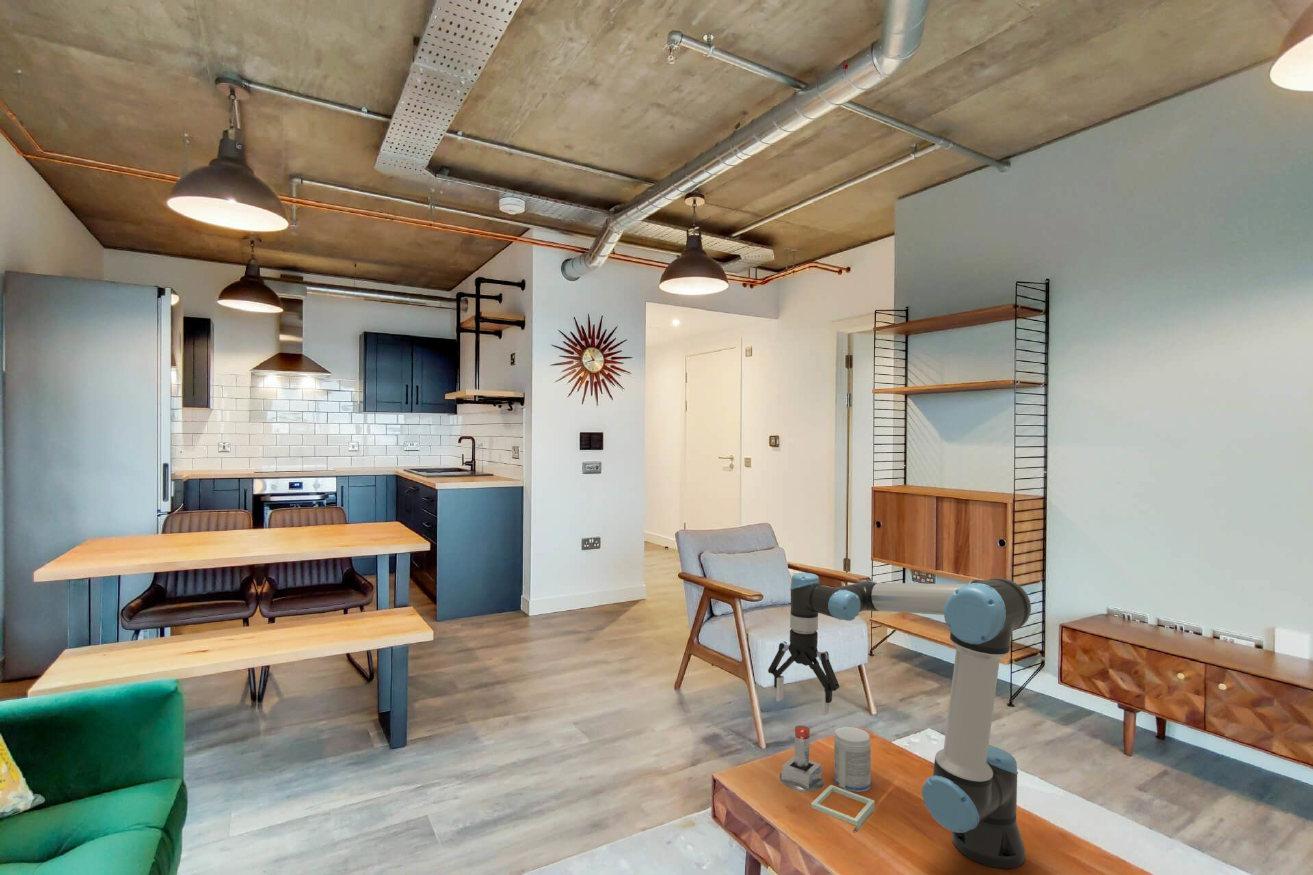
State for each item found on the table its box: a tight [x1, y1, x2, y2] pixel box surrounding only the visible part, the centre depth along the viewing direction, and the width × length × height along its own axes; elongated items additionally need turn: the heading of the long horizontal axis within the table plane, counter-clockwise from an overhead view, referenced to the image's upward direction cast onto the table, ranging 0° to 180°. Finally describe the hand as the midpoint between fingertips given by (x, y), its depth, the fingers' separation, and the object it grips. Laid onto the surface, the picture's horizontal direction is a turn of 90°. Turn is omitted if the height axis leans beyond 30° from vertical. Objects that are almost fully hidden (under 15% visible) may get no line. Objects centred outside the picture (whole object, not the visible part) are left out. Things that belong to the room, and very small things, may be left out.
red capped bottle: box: [793, 725, 811, 771], centre depth 177 cm, size 4×4×14 cm
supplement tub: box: [833, 726, 872, 792], centre depth 177 cm, size 10×10×15 cm
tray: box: [810, 784, 876, 832], centre depth 165 cm, size 12×12×2 cm
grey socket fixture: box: [778, 755, 825, 793], centre depth 177 cm, size 12×12×6 cm
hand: (801, 706), depth 178 cm, fingers open, 13 cm apart
